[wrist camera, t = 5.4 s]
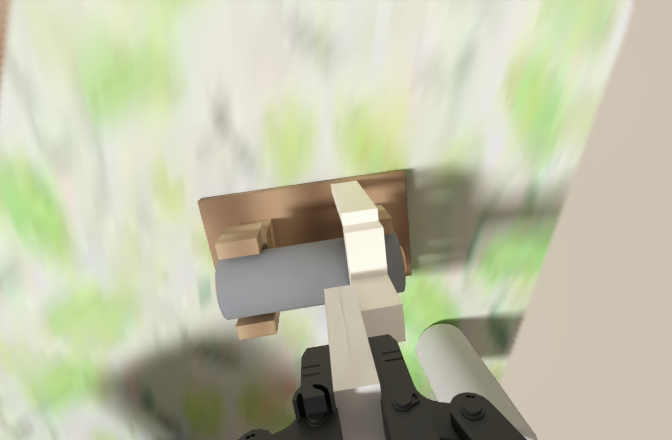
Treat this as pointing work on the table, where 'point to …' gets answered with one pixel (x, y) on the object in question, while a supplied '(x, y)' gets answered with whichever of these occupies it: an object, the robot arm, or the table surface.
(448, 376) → the beverage can
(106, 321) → the table surface
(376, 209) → the white bar frame
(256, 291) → the grey capped cylinder
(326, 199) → the cradle board
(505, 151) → the table surface
